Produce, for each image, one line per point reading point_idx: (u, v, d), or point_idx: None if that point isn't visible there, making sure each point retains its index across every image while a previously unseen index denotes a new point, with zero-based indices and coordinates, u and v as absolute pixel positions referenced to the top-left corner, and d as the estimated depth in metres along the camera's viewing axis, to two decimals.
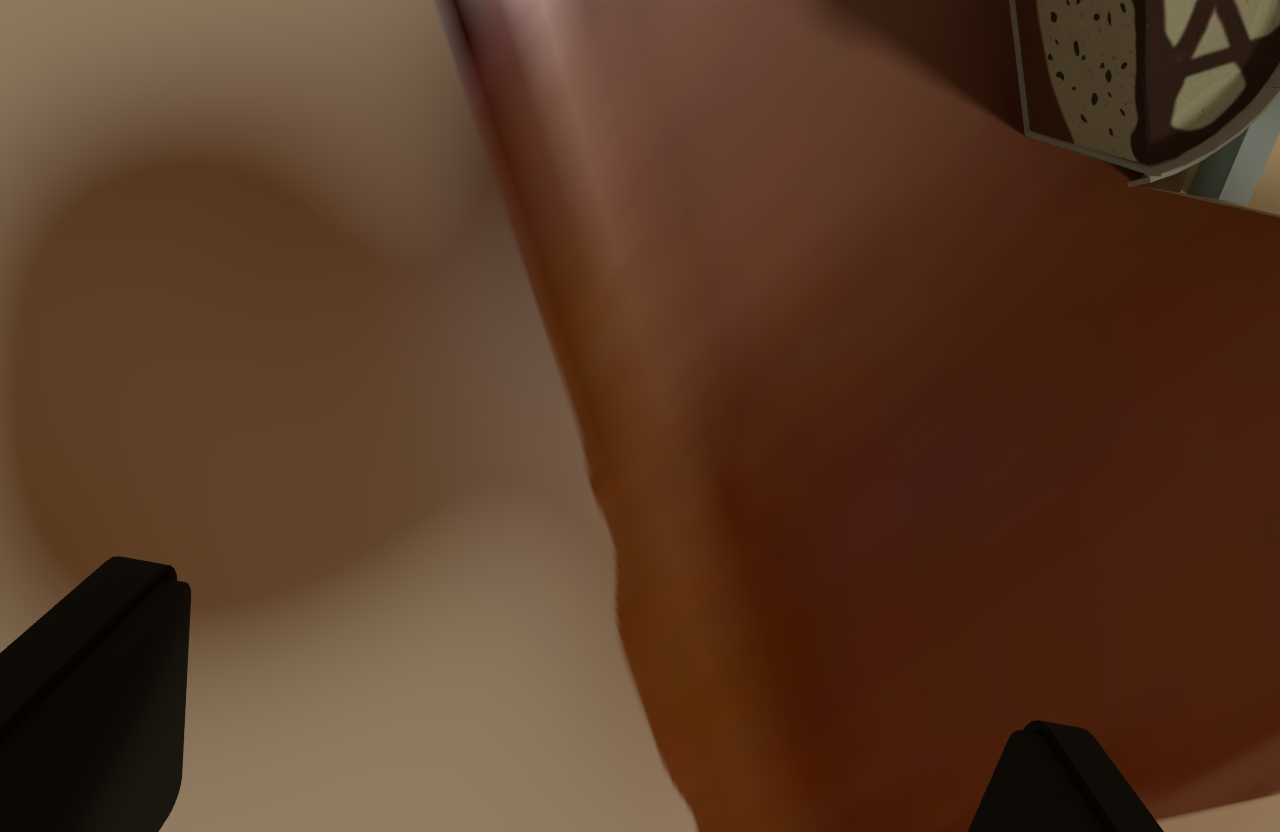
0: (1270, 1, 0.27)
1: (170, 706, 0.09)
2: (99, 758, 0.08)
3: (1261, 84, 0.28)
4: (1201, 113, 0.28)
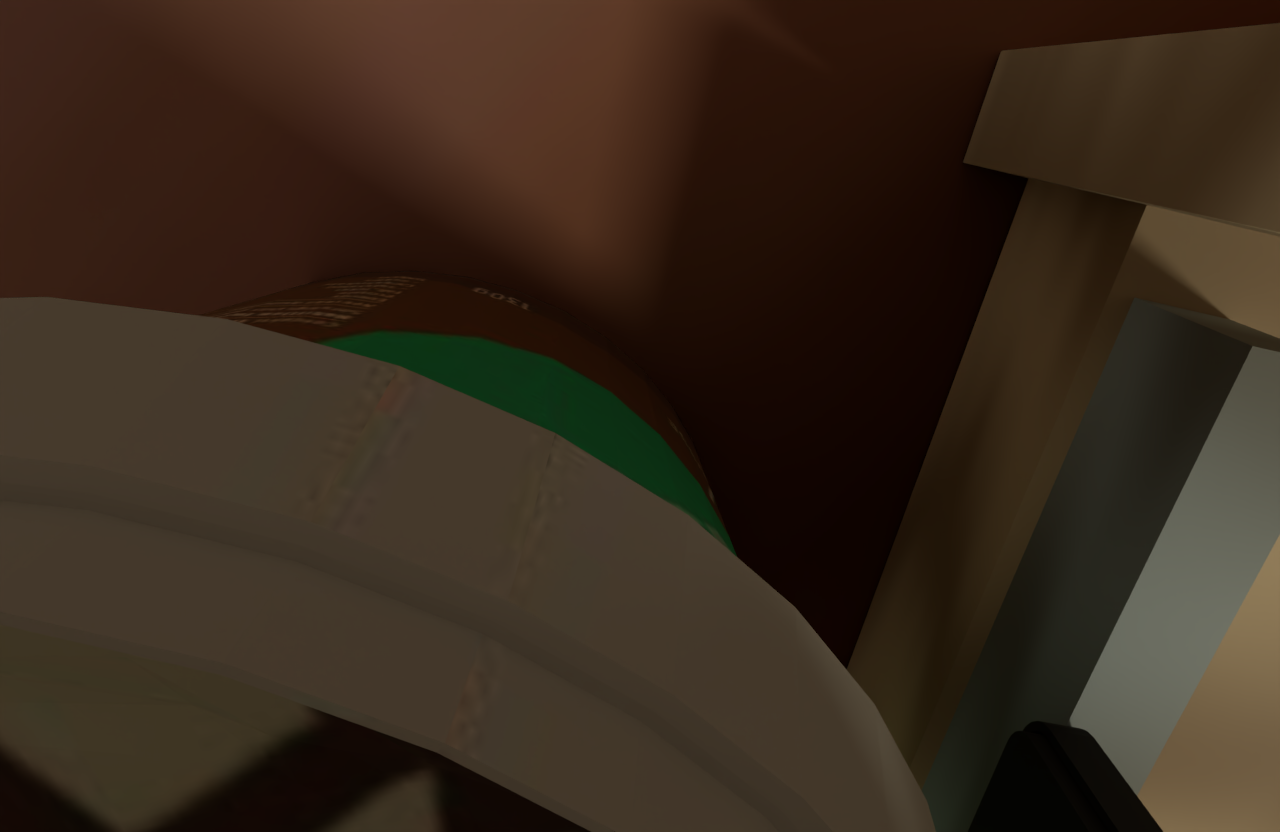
0: None
1: None
2: None
3: None
4: None
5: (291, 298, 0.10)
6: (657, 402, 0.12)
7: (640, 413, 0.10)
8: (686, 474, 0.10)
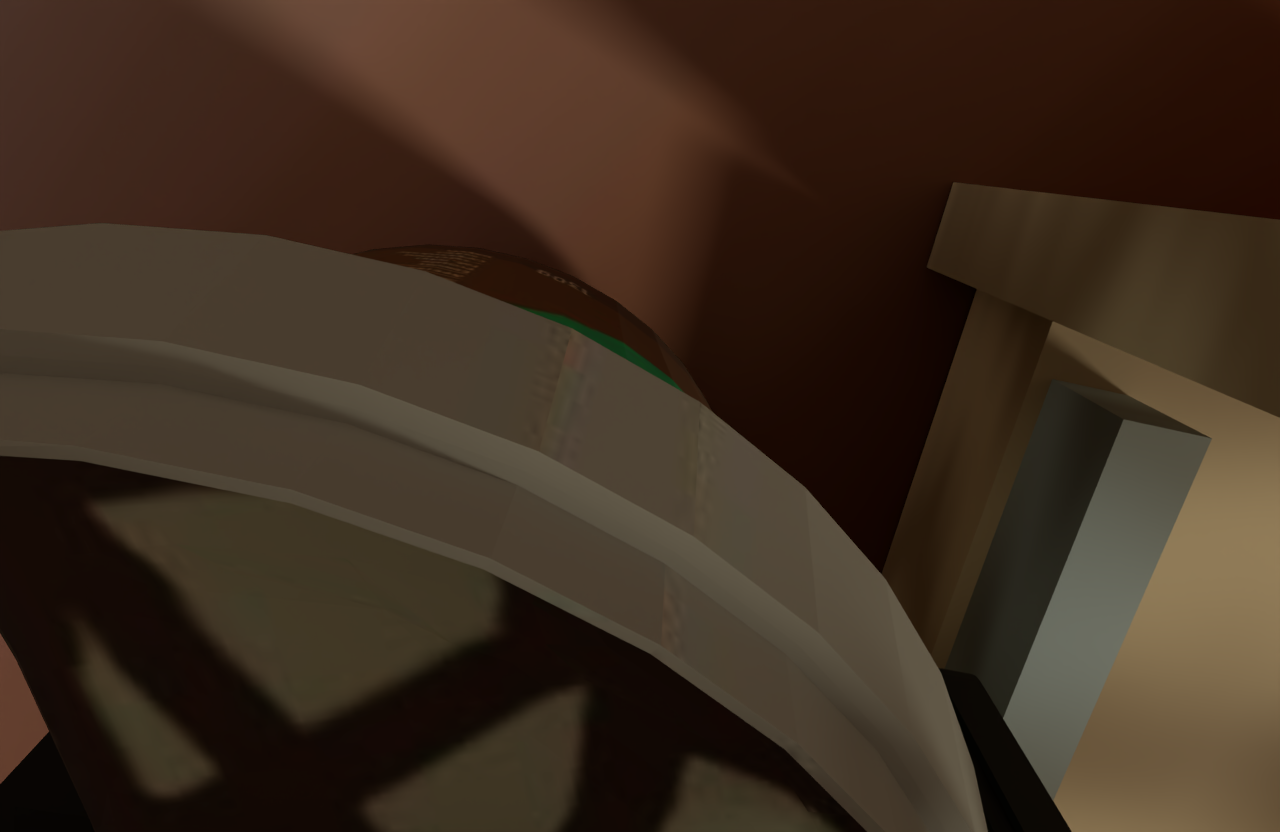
0: None
1: None
2: None
3: None
4: None
5: None
6: (700, 395, 0.13)
7: None
8: None
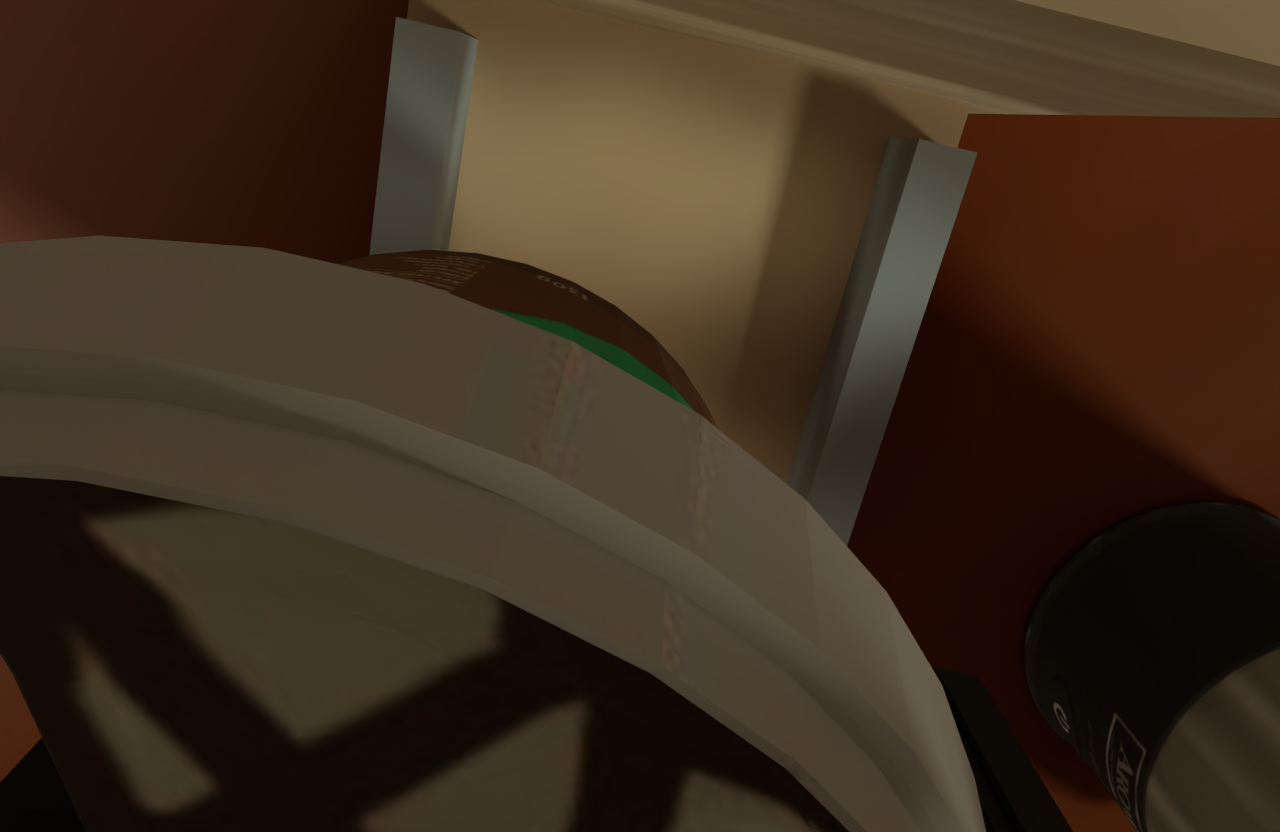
0: None
1: None
2: None
3: None
4: None
5: (378, 268, 0.10)
6: (700, 400, 0.13)
7: (694, 409, 0.11)
8: None
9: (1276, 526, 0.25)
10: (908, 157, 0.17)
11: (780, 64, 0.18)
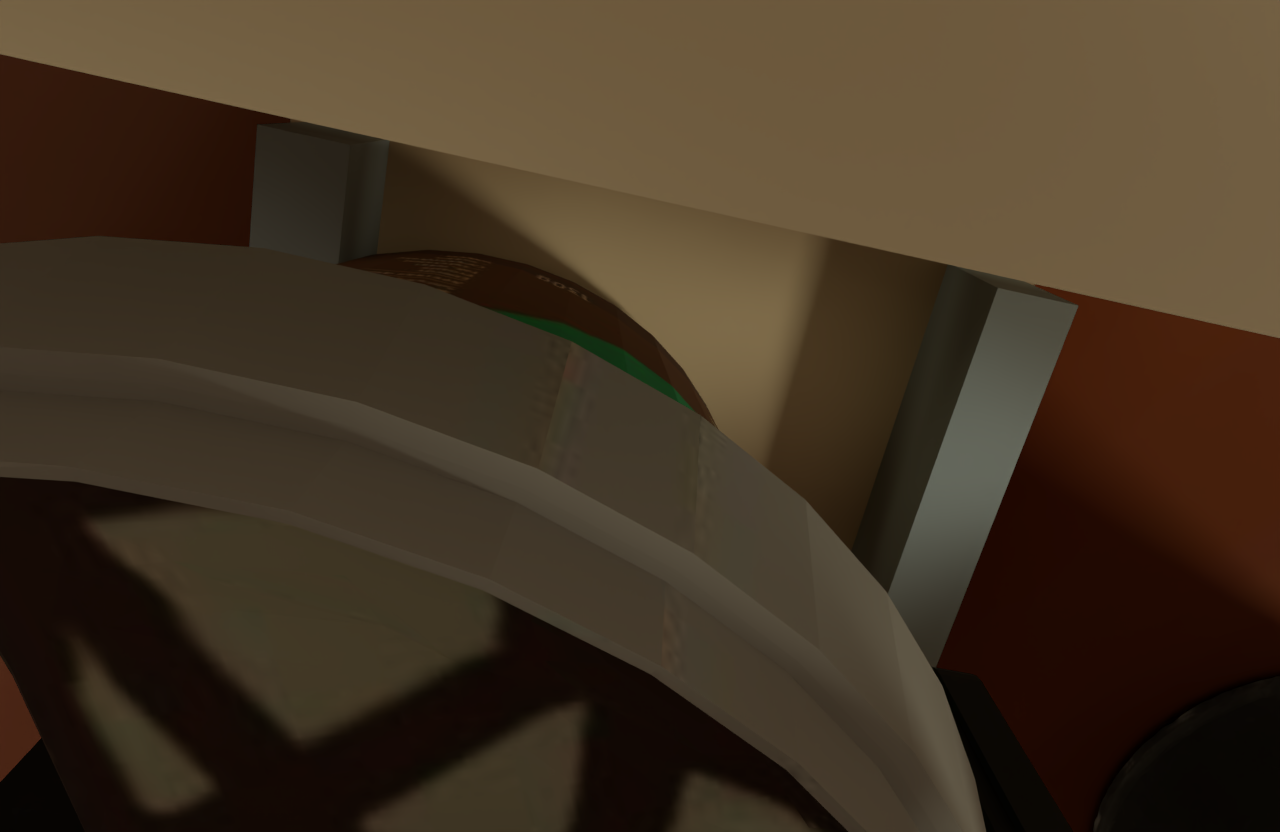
0: None
1: None
2: None
3: None
4: None
5: (378, 268, 0.10)
6: (700, 400, 0.13)
7: (694, 409, 0.11)
8: None
9: None
10: (979, 307, 0.13)
11: None
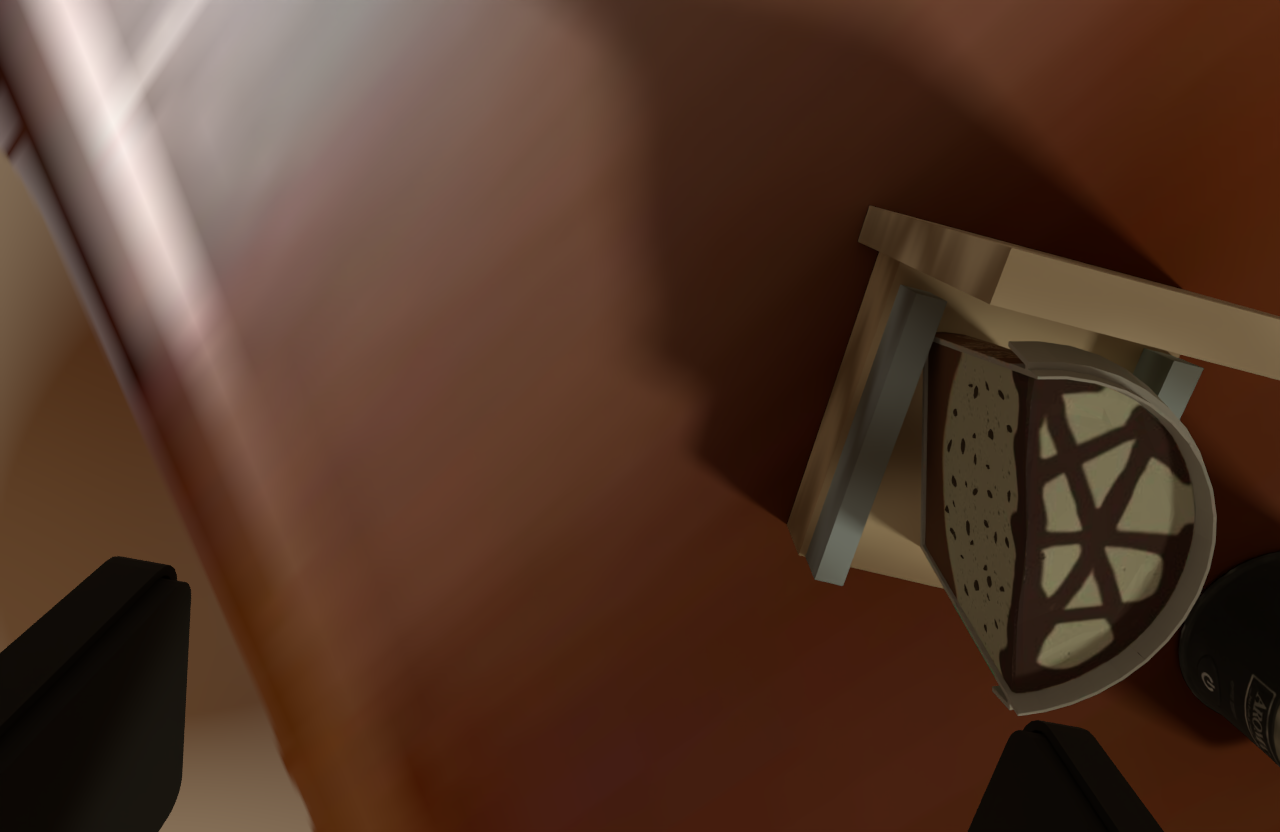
0: (1146, 573, 0.27)
1: (170, 706, 0.09)
2: (98, 759, 0.08)
3: (1127, 642, 0.28)
4: (1067, 656, 0.28)
5: (975, 341, 0.31)
6: None
7: None
8: None
9: None
10: (1164, 367, 0.33)
11: None
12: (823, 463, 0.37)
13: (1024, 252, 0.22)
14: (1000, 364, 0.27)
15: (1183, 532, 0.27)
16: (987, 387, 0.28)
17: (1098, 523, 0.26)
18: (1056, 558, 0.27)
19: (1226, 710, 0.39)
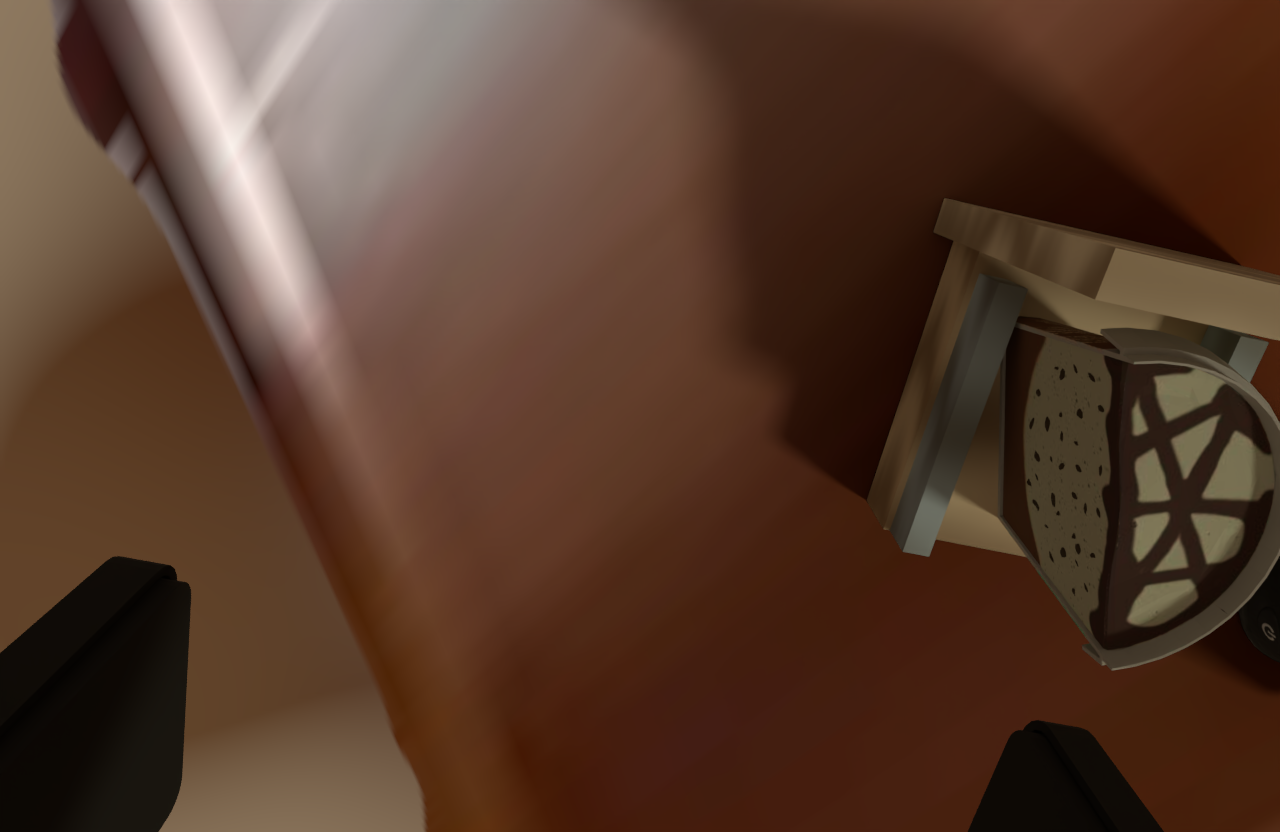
0: (1229, 536, 0.29)
1: (170, 706, 0.09)
2: (98, 759, 0.08)
3: (1211, 600, 0.30)
4: (1155, 614, 0.30)
5: (1056, 326, 0.33)
6: None
7: None
8: None
9: None
10: (1231, 342, 0.35)
11: None
12: (905, 442, 0.39)
13: (1127, 251, 0.24)
14: (1091, 349, 0.29)
15: (1263, 498, 0.29)
16: (1075, 370, 0.30)
17: (1185, 492, 0.29)
18: (1147, 526, 0.29)
19: None
